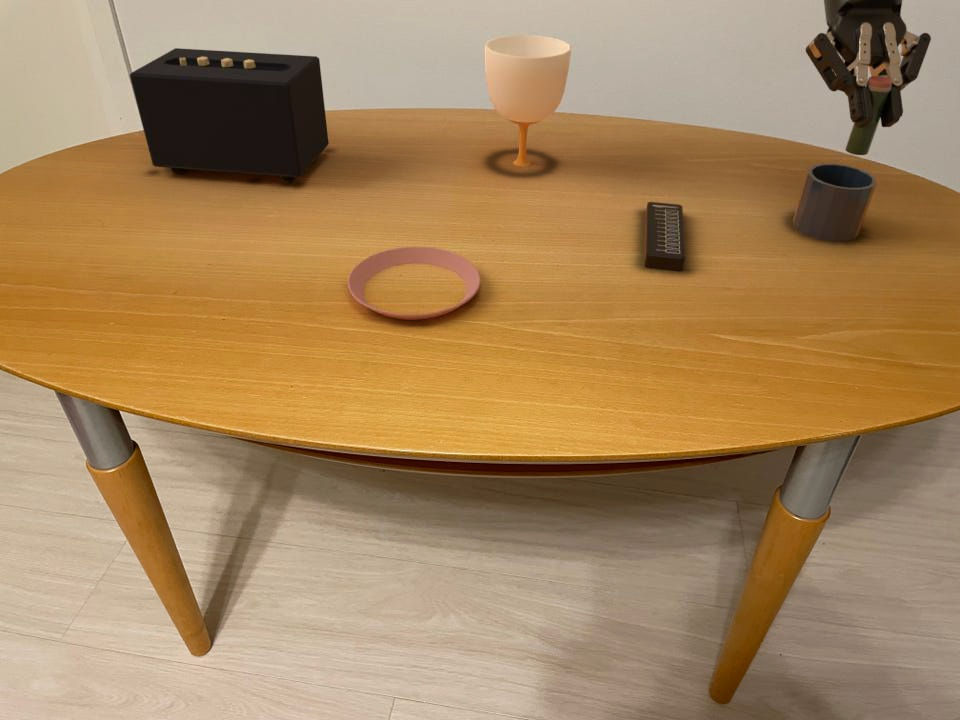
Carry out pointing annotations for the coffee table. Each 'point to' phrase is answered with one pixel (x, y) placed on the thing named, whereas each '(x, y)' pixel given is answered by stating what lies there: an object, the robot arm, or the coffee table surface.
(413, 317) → the ring
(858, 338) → the coffee table surface
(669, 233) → the dark brown flat block
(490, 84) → the cup
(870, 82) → the pencil
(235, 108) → the speaker
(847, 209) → the pen cup
